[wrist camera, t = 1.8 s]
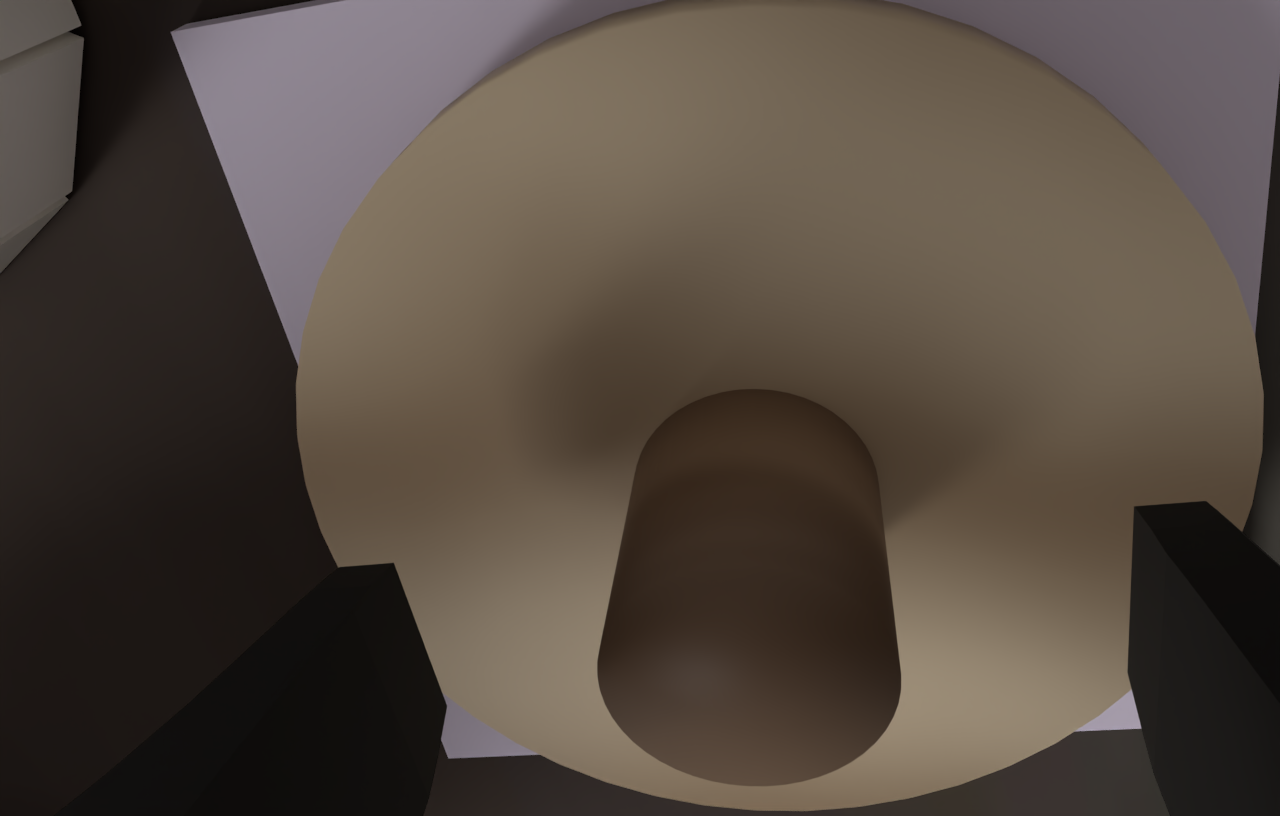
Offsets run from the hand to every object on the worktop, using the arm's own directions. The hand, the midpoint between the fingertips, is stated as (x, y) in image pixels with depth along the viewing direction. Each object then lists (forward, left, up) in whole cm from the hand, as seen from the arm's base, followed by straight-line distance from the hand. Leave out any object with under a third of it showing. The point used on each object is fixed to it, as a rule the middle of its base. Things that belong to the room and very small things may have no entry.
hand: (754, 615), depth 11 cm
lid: (0, 0, -4) cm, 4 cm away
